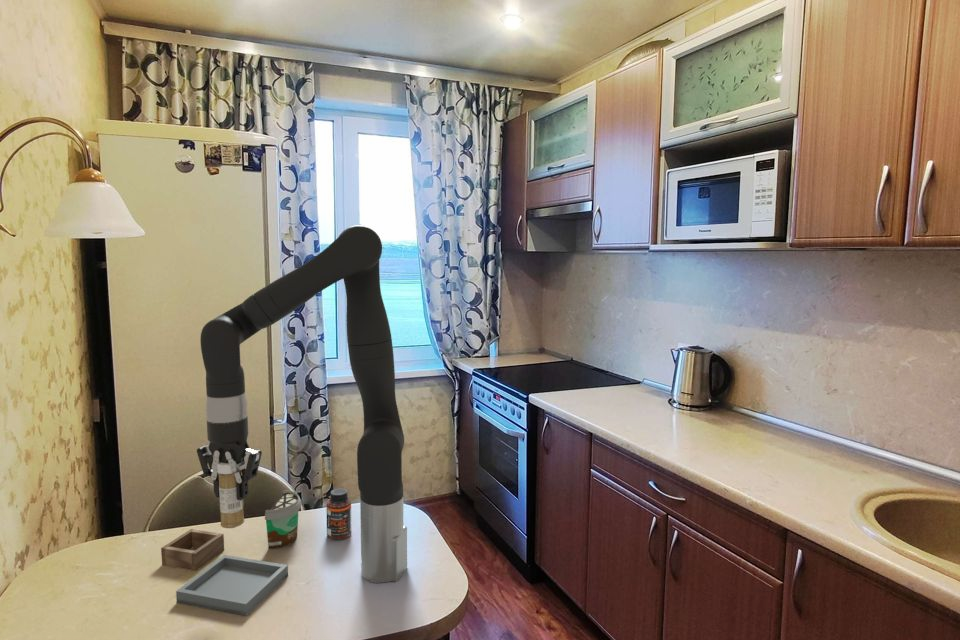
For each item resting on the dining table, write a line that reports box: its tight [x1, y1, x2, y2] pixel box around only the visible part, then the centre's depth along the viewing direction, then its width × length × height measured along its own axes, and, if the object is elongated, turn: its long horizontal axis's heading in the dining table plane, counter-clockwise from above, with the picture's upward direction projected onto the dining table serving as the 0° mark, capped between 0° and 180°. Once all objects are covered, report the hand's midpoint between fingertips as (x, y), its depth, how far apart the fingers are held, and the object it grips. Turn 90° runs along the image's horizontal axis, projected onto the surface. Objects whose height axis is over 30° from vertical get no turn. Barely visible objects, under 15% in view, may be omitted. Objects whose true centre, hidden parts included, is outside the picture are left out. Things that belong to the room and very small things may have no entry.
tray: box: [175, 554, 289, 617], centre depth 116 cm, size 16×14×2 cm
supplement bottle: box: [326, 488, 352, 541], centre depth 138 cm, size 6×6×11 cm
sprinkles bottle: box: [217, 462, 245, 529], centre depth 114 cm, size 5×5×13 cm
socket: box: [160, 528, 225, 572], centre depth 128 cm, size 9×9×4 cm
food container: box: [264, 489, 302, 550], centre depth 136 cm, size 12×6×10 cm, turn 179°
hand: (231, 496), depth 114 cm, fingers closed on sprinkles bottle, 4 cm apart
